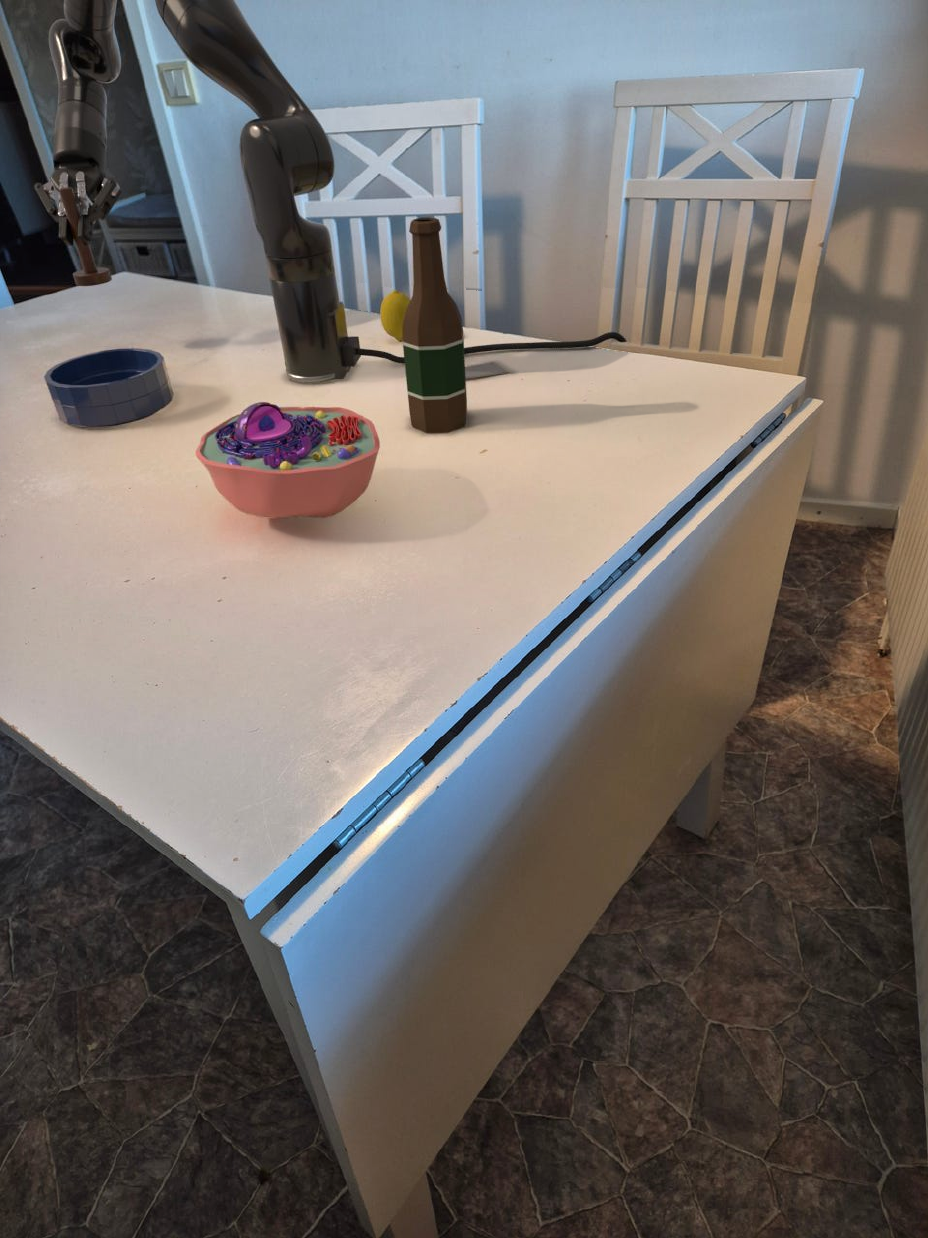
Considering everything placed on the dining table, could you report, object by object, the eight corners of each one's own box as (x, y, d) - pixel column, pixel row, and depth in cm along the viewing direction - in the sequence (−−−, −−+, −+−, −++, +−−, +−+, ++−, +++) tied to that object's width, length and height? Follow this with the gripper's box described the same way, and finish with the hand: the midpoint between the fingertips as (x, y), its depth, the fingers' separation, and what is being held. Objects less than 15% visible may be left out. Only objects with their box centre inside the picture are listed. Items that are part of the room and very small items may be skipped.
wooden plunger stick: (118, 276, 133) (90, 184, 125) (102, 285, 129) (73, 190, 121) (86, 277, 134) (57, 185, 126) (69, 286, 130) (38, 191, 122)
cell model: (323, 568, 78) (303, 459, 71) (180, 521, 87) (150, 421, 80) (422, 493, 89) (413, 394, 82) (286, 459, 98) (268, 367, 91)
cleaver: (509, 376, 119) (494, 366, 123) (509, 368, 118) (494, 357, 122) (425, 390, 114) (412, 378, 118) (425, 381, 114) (412, 370, 117)
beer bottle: (479, 414, 106) (470, 213, 92) (453, 438, 101) (440, 227, 86) (426, 407, 109) (410, 211, 95) (398, 430, 104) (377, 225, 89)
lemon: (412, 346, 131) (407, 294, 126) (379, 345, 132) (373, 294, 127) (420, 335, 135) (416, 285, 130) (388, 335, 136) (383, 285, 131)
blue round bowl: (190, 387, 120) (180, 347, 117) (147, 430, 108) (134, 386, 104) (92, 388, 122) (79, 349, 119) (38, 431, 110) (21, 387, 106)
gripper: (24, 127, 125) (18, 229, 123) (111, 121, 125) (107, 224, 122) (51, 162, 133) (46, 259, 130) (133, 156, 132) (130, 254, 129)
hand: (75, 241), depth 126 cm, fingers closed on wooden plunger stick
